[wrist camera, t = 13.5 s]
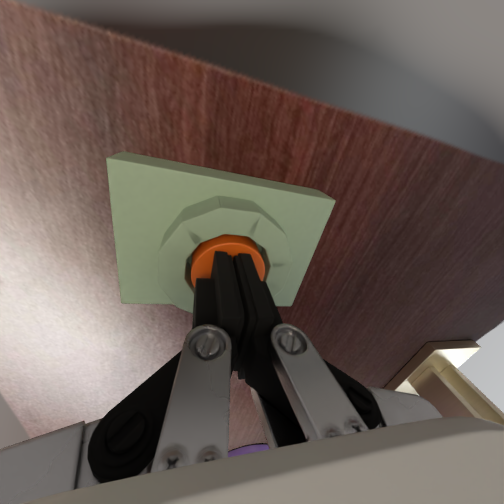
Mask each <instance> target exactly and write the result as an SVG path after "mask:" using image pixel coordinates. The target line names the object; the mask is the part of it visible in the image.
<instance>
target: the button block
mask: <svg viewBox="0 0 504 504" xmlns="http://www.w3.org/2000/svg"><path fill="white" fill-rule="evenodd" d="M106 163H107V172H108V182H109V191H110V201H111V210H112V220H113V229H114V239H115V248H116V258H117V267H118V277H119V287H120V296H121V303H125V304H174V305H175V306H177V307H178V308H180V309H183V310H185V311H187V312H190V313H192V314H193V303H194V292H195V288H194V286H193V284H192V281H191V265H192V253H193V251H194V250H195V249H196V248H197V246H198V245H199V244H200V243H202V242H204V241H207V240H210V239H212V238H215V237H218V236H220V235H223V234H230V235H239V236H248V237H249V238H251V239H252V240H253V241H255V243H256V245H257V247H258V250H259V252H260V254H261V256H262V259H263V261H264V264H265V274H264V278H263V281H265V282H266V283H267V285H268V288H269V290H270V293H271V295H272V297H273V300H274V302H275V305H276V306H292V303H293V301H294V299H295V296H296V294H297V291H298V289H299V287H300V284H301V282H302V280H303V277H304V275H305V272H306V270H307V268H308V265H309V263H310V261H311V258H312V256H313V253H314V251H315V249H316V246H317V244H318V242H319V239H320V237H321V235H322V232H323V230H324V227H325V225H326V223H327V220H328V218H329V216H330V213H331V211H332V208H333V206H334V204H335V200H334V199H332V198H331V197H329V196H327V195H326V194H324V193H322V192H321V191H319V190H316V189H311V188H306V187H301V186H296V185H291V184H286V183H281V182H276V181H271V180H266V179H261V178H256V177H251V176H246V175H240V174H235V173H230V172H225V171H220V170H215V169H210V168H205V167H200V166H195V165H190V164H185V163H180V162H175V161H170V160H165V159H160V158H154V157H149V156H144V155H139V154H134V153H129V152H124V151H123V152H120V153H118V154H115V155H112V156H110V157H107V158H106Z"/></svg>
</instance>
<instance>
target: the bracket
mask: <svg viewBox="0 0 504 504" xmlns="http://www.w3.org/2000/svg"><path fill="white" fill-rule="evenodd" d="M480 348H481V347H480V346H479V345H478V344H477V343H476V342H474V341H473V340H462V341H441V342H427V343H426V344H425V345H424V346H423V347H422V348H421V350H420V351H419V352H418V353H417V354H416V355H415V356H414V357H413V358H412V359H411V360H410V361H409V362H408V363H407V364H406V365H405V366H404V367H403V368H402V369H401V371H400V372H399V373H398V374H397V375H396V376H395V377H394V378H393V379H392V380H391V381H390V382H389V383H388V384H387V385H386V386H385V387H384V388H383V389H387V390H393V391H399V392H404V393H410V394H415V395H419V396H421V397H423V398H424V399H426V400H427V401H429V402H430V403H431V404H432V405H433V406H434V407H435V408H436V409H437V410H438V411H439V413H440V414H441V415H442V416H443V417H454V416H464V417H475V418H480V419H484V420H488V421H492V422H495V423H498V424H501V425H504V413H503V412H502V411H501V410H500V409H499V408H497V407H496V406H495V405H494V404H493V403H492V402H491V401H490V400H489V399H488V398H487V397H486V396H485V395H484V394H483V393H482V392H481V391H480V390H479V389H478V388H477V387H476V386H475V385H474V384H473V383H472V382H471V381H469V379H467V378H466V377H465V376H464V375H463V374H462V373H461V372H460V371H459V370H458V369H457V368H458V367H459V366H460V365H461V364H463V363H464V362H465V361H466V360H467V359H468V358H470V357H471V356H472V355H473V354H474V353H475V352H476V351H478V350H479V349H480Z"/></svg>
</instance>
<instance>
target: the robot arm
mask: <svg viewBox="0 0 504 504" xmlns="http://www.w3.org/2000/svg"><path fill="white" fill-rule="evenodd" d="M233 370H234V371H237V372H238V378H239V379H245V381H246V383H247V384H248V385H249V386H250V387H251V393H252V397H253V400H254V403H255V406H256V409H257V412H258V416H259V419H260V422H261V425H262V428H263V431H264V434H265V437H266V440H267V443H268V446H269V450H264V451H258V452H253V453H248V454H243V455H238V456H233V457H228V440H229V407H230V378H231V375H232V372H233ZM0 504H504V425H501V424H498V423H495V422H492V421H488V420H484V419H480V418H475V417H464V416H454V417H443V416H442V415H441V414H440V413H439V411H438V410H437V409H436V408H435V407H434V406H433V405H432V404H431V403H430V402H429V401H427V400H426V399H424V398H423V397H421V396H418V395H415V394H410V393H404V392H399V391H393V390H387V389H381V388H375V387H368V388H367V389H366V388H365V387H364V386H363V385H362V384H360V383H359V382H357V381H356V380H354V379H353V378H351V377H350V376H348V375H347V374H345V373H344V372H342V371H341V370H339V369H337V368H336V367H334V366H333V365H331V364H330V363H328V362H327V361H325V360H324V359H322V357H321V356H320V354H319V353H318V351H317V350H316V348H315V347H314V345H313V344H312V342H311V341H310V339H309V338H308V336H307V335H306V334H305V333H304V332H303V331H302V330H301V329H299V328H298V327H296V326H294V325H291V324H283V322H282V320H281V317H280V315H279V312H278V310H277V307H276V305H275V302H274V300H273V297H272V295H271V293H270V290H269V288H268V285H267V283H266V282H265V281H261V280H260V278H259V275H258V272H257V270H256V267H255V264H254V262H253V259H252V256H251V254H246V253H238V256H234V257H233V260H232V256H231V255H228V254H227V252H223V251H215V253H214V259H213V265H212V271H211V278H210V279H209V278H196V283H195V292H194V303H193V324H192V330H191V331H190V332H189V333H188V334H187V336H186V338H185V341H184V344H183V348H182V350H181V351H180V352H179V353H178V354H177V355H176V356H174V357H173V358H172V359H171V360H170V361H168V362H167V363H166V364H165V365H164V366H162V367H161V368H160V369H159V370H158V371H157V372H155V373H154V374H153V375H152V376H151V377H149V378H148V379H147V380H146V381H145V382H144V383H142V384H141V385H140V386H139V387H138V388H136V389H135V390H134V391H133V392H132V393H130V394H129V395H128V396H127V397H126V398H125V399H123V400H122V401H121V402H120V403H119V404H117V405H116V406H115V407H114V408H113V409H112V410H110V411H109V412H108V413H107V414H106V415H105V416H104V417H103V418H101V419H99V420H96V421H93V422H90V423H87V424H85V422H84V421H82V422H79V423H76V424H73V425H70V426H67V427H64V428H61V429H58V430H55V431H52V432H49V433H46V434H43V435H40V436H37V437H34V438H31V439H28V440H26V441H23V442H20V443H17V444H14V445H11V446H8V447H5V448H2V449H0Z"/></svg>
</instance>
